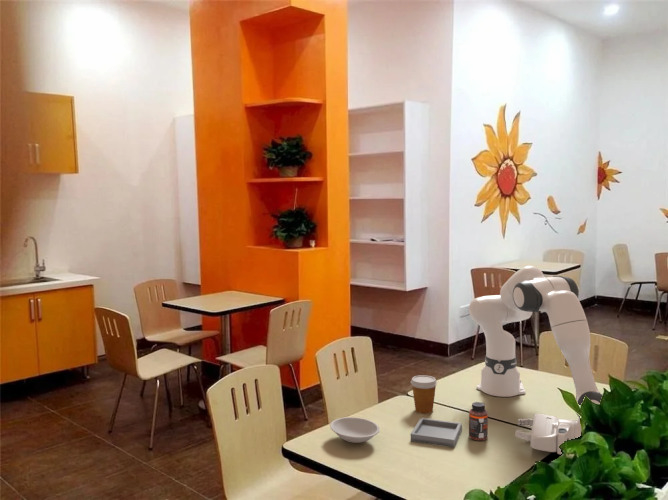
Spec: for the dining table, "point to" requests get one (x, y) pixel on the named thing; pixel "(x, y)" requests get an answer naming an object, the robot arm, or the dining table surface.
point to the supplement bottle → (478, 422)
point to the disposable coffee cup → (424, 393)
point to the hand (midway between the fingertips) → (516, 427)
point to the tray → (436, 432)
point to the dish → (354, 429)
